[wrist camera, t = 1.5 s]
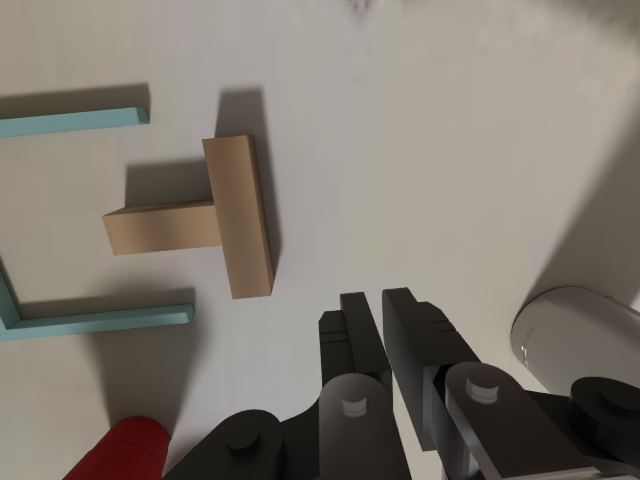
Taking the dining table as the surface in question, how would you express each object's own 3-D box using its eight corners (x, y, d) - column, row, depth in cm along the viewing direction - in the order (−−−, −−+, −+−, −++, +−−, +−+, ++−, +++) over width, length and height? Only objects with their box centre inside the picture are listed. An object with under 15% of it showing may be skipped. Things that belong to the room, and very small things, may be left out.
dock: (145, 108, 24) (135, 107, 22) (194, 313, 29) (188, 322, 27) (-75, 129, 23) (-100, 129, 22) (14, 331, 29) (-1, 341, 27)
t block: (253, 135, 24) (246, 135, 22) (274, 279, 28) (270, 295, 25) (108, 148, 24) (81, 150, 21) (148, 291, 28) (130, 309, 25)
